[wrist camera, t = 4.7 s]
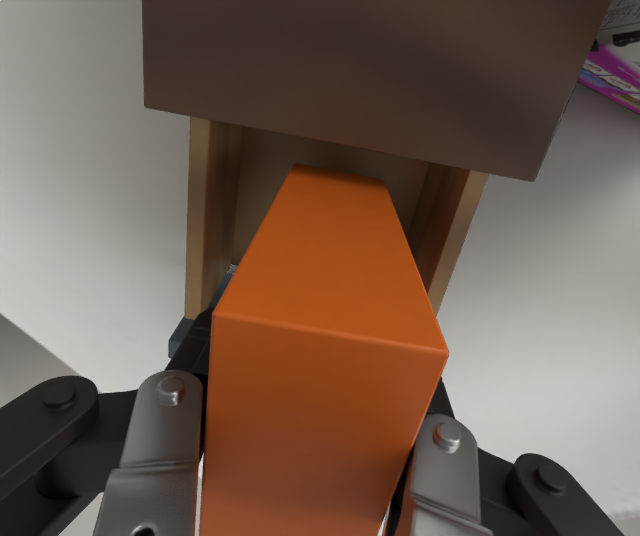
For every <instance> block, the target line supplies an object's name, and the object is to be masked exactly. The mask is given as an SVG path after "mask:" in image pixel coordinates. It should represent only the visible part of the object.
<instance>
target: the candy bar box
mask: <svg viewBox="0 0 640 536" xmlns="http://www.w3.org/2000/svg"><path fill="white" fill-rule="evenodd" d="M577 81H578V82H580V83H581V84H583V85H585V86H587V87H589V88H591V89H593V90H595V91H597V92H598V93H600V94H602V95H604V96H606V97H608V98H610V99H612V100H614V101H615V102H617V103H619V104H621V105H623V106H625V107H626V108H628V109H630V110H632V111H634V112H636V113H637V114H639V115H640V0H611V2H610V5H609V7H608V9H607V12H606V14H605V17H604V19H603V21H602V24H601V26H600V28H599V31H598V33H597V35H596V38H595V40H594V42H593V45H592V47H591V49H590V52H589V54H588V56H587V59H586V61H585V64H584V66H583V68H582V71H581V73H580V75H579V78H578V80H577Z"/></svg>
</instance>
